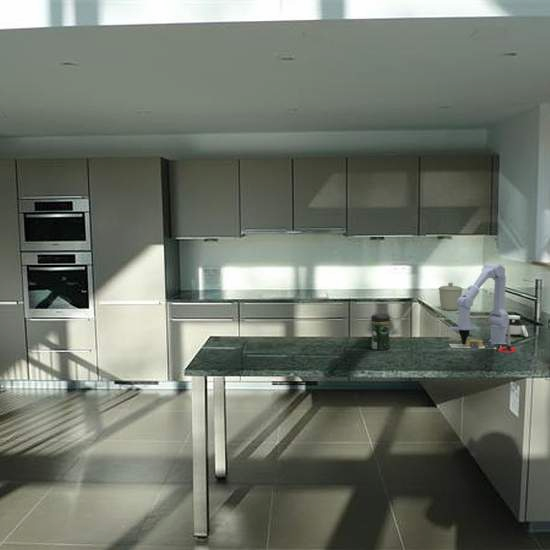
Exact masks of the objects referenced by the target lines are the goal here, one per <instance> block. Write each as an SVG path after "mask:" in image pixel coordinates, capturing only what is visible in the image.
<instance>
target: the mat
mask: <svg viewBox="0 0 550 550" xmlns="http://www.w3.org/2000/svg"><path fill="white" fill-rule="evenodd" d="M448 344H449V346H450V348H454V349H455V348H457V349H459V348H460V349H472V348H471V347H466V343H465V345H463V344H462V343H448ZM478 349H485V348H484V346H483V347H479V348H478ZM486 349H487V350H490V349H494V350H495V349H497V350H498V348H497V347H496V348H486Z"/></svg>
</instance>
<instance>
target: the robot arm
mask: <svg viewBox="0 0 550 550" xmlns="http://www.w3.org/2000/svg"><path fill="white" fill-rule="evenodd" d="M489 279H492V280H493V281H494V291H493V309H492V310H491V311H490V312H489V317H488V323H489V325H490V327H491V328H490V339H488V341H492V343H495V344H496V345H507V341H506V336H507V335H506V328H507V326H508V324H509V318H508V315H509V313H508V312H507V311H506V310H505V302H506V282H507V281H506V279H507V277H506V267H504V266H503V265H502V264H495V263H486V264H484V265H483V267H482V268H481V273H480V274H479V276H478V277H477V279H476V280H475V282H474V283H473V285H469V286H468V287H467V289H466V290H465V291H464V293H463V294H462V295H461V297H459V298H458V300H457V302H456V303H457V306H458V326H449V331H450V332H453V331H455V332H458V333H459V336H460V338H461V344H463V345H465V344H466V340H467V339H468V337H469V335H470V333H471V332H479V331H480V330H479V329H480V328H479V327H476V326H475V327H474V326H471V324H470V323H471V307H472V306H473V304H474V301H475V298H476V297H478V295H479V293H480V288H481V287H482V286H483V285H484V284H485V283H486V282H487V280H489Z"/></svg>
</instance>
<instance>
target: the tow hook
mask: <svg viewBox="0 0 550 550" xmlns="http://www.w3.org/2000/svg"><path fill="white" fill-rule="evenodd" d="M511 342H512V341H511V337H510V326H508V336H507V340H506V343H507V344H505V345H506V346H501V348H497V351H498V352H501V353H505V352H506V353H507V354H513V353H515V352H516V351H517V348H516V347H512V345H511ZM507 349H508V350H509V351H505V350H507Z"/></svg>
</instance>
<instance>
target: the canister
mask: <svg viewBox="0 0 550 550" xmlns="http://www.w3.org/2000/svg"><path fill="white" fill-rule="evenodd" d="M463 290H464V288H462V287H461V286H458V285H454V282H448V284H447V285H441V286H440V287H438V291H439V302H440V308H441V309H442V310H443V309H445V310H444V311H449V310H454V311H459V309H458V306H457V303H456V302H457V300H458V298H459V297H461V296H463V294H462V293H463Z"/></svg>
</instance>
